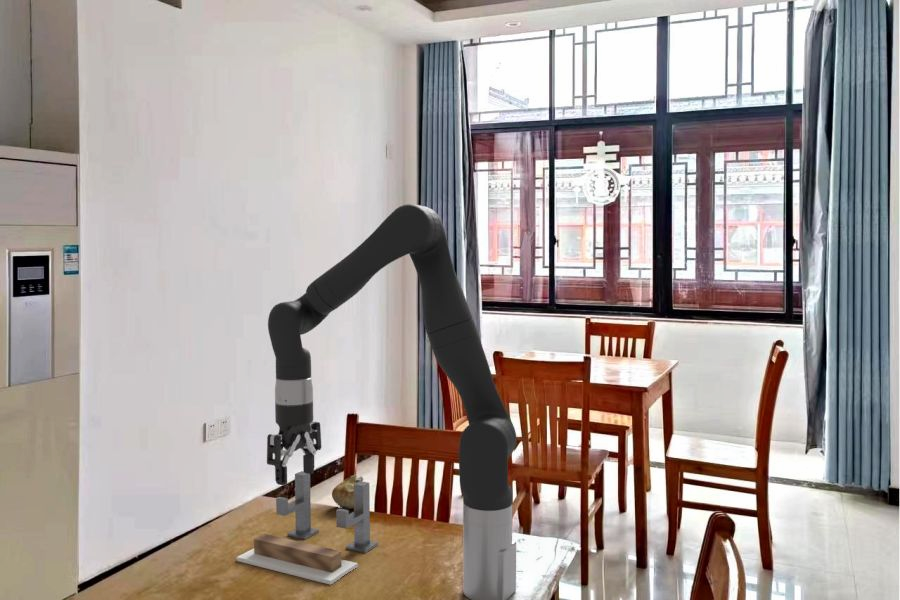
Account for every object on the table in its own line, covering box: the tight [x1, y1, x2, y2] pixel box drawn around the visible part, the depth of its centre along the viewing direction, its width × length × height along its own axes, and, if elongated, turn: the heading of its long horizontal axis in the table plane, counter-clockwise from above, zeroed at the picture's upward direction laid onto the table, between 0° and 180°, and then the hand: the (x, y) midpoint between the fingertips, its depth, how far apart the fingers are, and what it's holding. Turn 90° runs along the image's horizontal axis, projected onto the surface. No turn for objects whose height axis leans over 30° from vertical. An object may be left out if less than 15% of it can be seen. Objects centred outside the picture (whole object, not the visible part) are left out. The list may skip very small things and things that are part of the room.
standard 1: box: [275, 470, 320, 540], centre depth 166 cm, size 5×10×14 cm, turn 153°
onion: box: [331, 474, 364, 510], centre depth 185 cm, size 8×8×8 cm
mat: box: [236, 547, 359, 586], centre depth 152 cm, size 24×9×1 cm, turn 63°
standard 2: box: [335, 481, 379, 554], centre depth 158 cm, size 5×10×14 cm, turn 153°
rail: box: [253, 533, 342, 573], centre depth 152 cm, size 20×3×3 cm, turn 63°
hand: (295, 478), depth 151 cm, fingers open, 8 cm apart
